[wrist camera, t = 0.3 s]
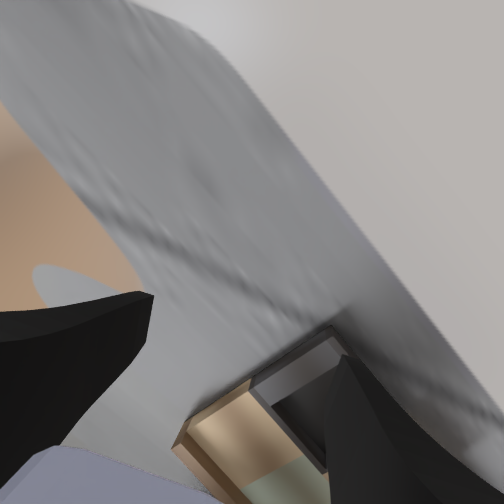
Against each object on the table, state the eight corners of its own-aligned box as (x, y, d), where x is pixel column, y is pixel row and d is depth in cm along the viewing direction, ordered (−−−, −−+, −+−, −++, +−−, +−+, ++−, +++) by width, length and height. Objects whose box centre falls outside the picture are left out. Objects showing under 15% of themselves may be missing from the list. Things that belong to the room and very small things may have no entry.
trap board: (358, 612, 27) (363, 657, 25) (184, 422, 26) (170, 449, 23) (522, 554, 23) (548, 599, 21) (330, 324, 22) (334, 345, 19)
